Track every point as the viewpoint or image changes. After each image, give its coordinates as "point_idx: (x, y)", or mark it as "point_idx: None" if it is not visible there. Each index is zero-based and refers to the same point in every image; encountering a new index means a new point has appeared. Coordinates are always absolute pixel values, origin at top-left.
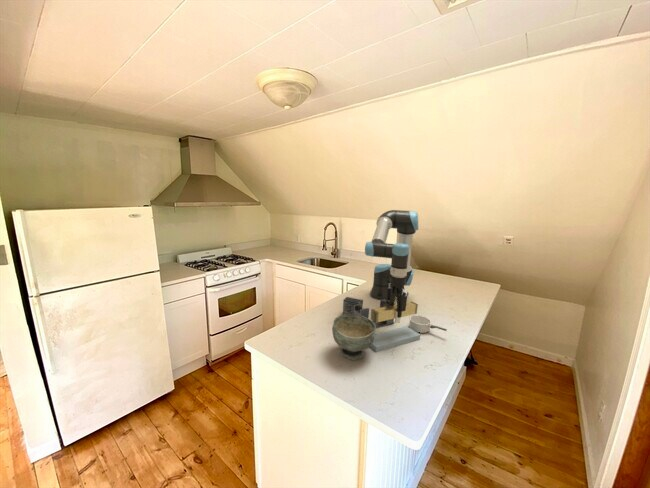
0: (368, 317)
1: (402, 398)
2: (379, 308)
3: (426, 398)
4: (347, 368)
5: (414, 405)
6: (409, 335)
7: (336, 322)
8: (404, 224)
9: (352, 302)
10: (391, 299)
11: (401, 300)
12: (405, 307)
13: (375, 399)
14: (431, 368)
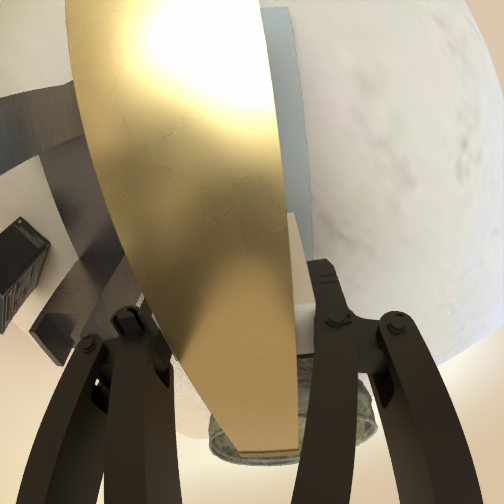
0: (102, 292)
1: (470, 308)
2: (241, 439)
3: (501, 264)
4: None
5: (490, 296)
6: (273, 77)
7: (231, 447)
8: None
9: (4, 314)
10: (175, 454)
11: (407, 495)
12: (428, 360)
13: (437, 348)
14: (473, 161)
